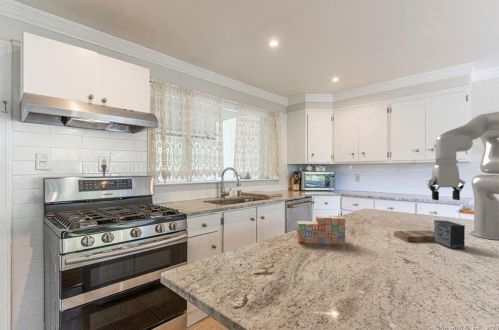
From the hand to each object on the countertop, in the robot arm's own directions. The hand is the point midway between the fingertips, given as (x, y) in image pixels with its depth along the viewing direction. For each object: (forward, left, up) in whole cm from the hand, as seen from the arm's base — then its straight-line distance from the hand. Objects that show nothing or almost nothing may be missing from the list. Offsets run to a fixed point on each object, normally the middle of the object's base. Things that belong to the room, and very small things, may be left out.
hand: (445, 199), depth 114 cm
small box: (-1, +1, -21) cm, 21 cm away
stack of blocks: (+56, -8, -21) cm, 60 cm away
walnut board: (+5, -10, -21) cm, 24 cm away
